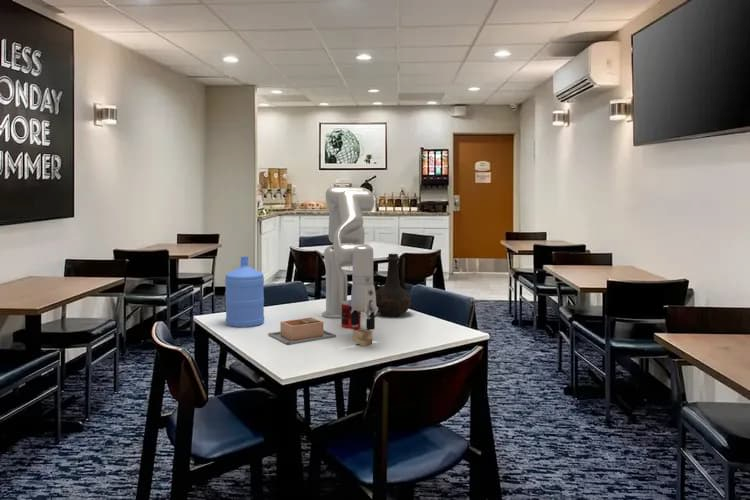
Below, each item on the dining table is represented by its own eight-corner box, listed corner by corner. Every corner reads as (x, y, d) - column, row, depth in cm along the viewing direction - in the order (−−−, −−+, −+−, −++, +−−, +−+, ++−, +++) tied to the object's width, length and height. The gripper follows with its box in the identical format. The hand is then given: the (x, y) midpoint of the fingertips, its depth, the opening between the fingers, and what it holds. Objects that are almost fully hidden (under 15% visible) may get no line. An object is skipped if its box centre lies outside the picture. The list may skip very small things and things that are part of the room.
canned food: (363, 327, 219) (363, 300, 218) (356, 331, 211) (356, 304, 210) (346, 325, 221) (346, 299, 220) (338, 330, 214) (338, 303, 213)
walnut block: (311, 331, 205) (311, 318, 205) (318, 334, 201) (318, 321, 200) (300, 333, 202) (300, 320, 202) (306, 335, 198) (306, 322, 198)
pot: (311, 331, 207) (311, 317, 207) (323, 336, 200) (323, 321, 200) (280, 336, 200) (280, 321, 199) (291, 341, 192) (291, 326, 192)
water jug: (265, 326, 218) (265, 258, 216) (226, 328, 214) (225, 259, 211) (262, 318, 233) (262, 254, 230) (225, 320, 229) (224, 255, 226)
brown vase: (366, 311, 249) (366, 252, 246) (400, 309, 255) (401, 251, 253) (380, 320, 232) (381, 256, 229) (417, 317, 239) (418, 255, 236)
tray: (314, 330, 212) (314, 326, 212) (336, 339, 199) (336, 334, 199) (268, 337, 201) (268, 333, 200) (287, 347, 188) (287, 342, 188)
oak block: (364, 341, 198) (364, 328, 197) (372, 344, 194) (372, 331, 193) (353, 343, 195) (353, 330, 194) (361, 346, 191) (361, 333, 190)
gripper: (385, 282, 187) (385, 330, 188) (357, 276, 201) (357, 321, 202) (368, 283, 183) (367, 333, 184) (341, 278, 197) (341, 324, 198)
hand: (362, 327), depth 193 cm, fingers open, 9 cm apart
